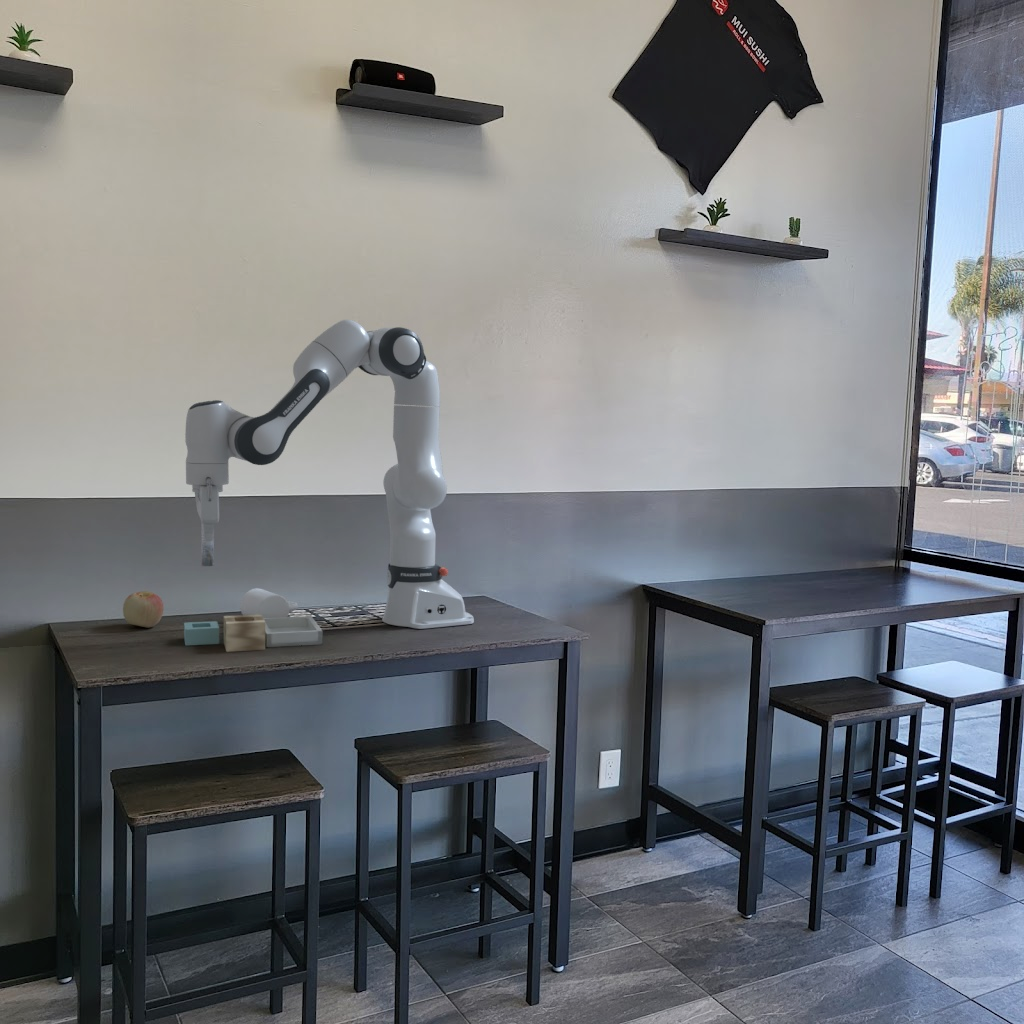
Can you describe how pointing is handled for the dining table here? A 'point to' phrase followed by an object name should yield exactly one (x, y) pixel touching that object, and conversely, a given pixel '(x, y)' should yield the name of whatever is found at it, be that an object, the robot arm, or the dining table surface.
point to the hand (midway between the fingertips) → (208, 539)
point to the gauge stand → (201, 633)
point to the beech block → (244, 633)
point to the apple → (143, 609)
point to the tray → (292, 631)
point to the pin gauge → (206, 550)
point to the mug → (266, 604)
